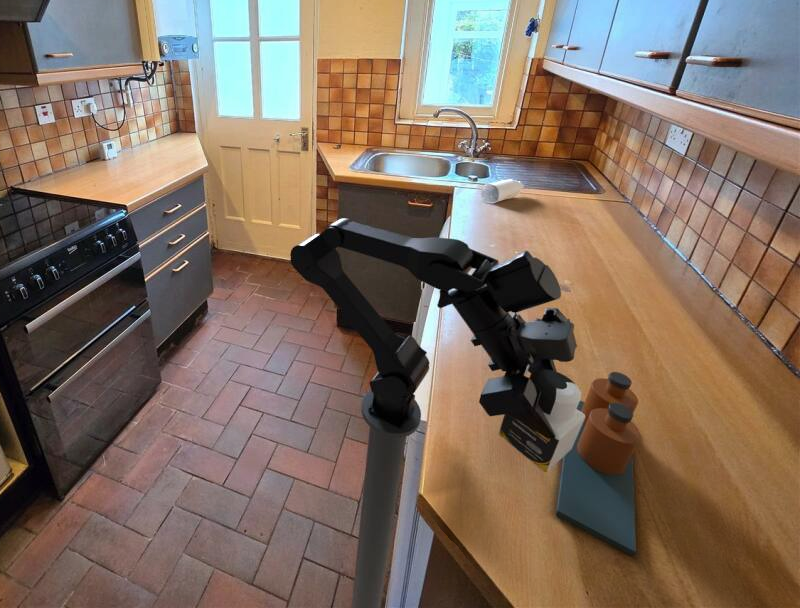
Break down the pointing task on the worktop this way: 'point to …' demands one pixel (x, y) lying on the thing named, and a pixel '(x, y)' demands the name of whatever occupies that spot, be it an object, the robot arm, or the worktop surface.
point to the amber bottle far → (609, 394)
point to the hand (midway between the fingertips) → (557, 416)
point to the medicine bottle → (561, 414)
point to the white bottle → (501, 190)
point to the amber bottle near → (609, 439)
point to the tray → (597, 499)
